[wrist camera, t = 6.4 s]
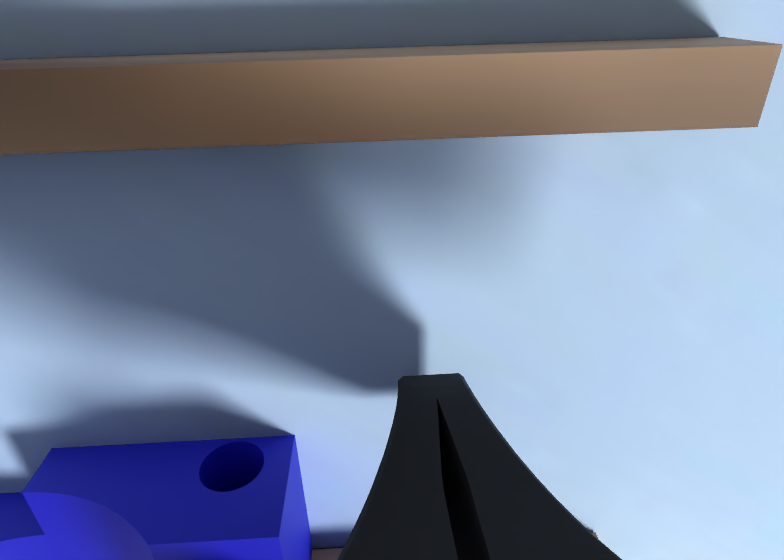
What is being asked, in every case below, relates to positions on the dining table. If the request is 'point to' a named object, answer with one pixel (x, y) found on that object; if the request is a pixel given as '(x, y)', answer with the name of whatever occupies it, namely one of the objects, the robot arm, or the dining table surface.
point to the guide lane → (381, 96)
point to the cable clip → (162, 503)
